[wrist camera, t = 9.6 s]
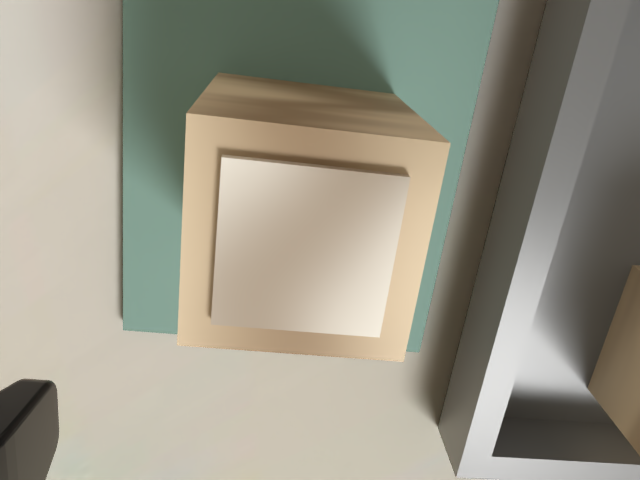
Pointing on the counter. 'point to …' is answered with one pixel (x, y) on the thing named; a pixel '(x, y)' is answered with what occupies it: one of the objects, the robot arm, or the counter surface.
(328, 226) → the labelled block
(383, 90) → the green mat
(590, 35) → the charcoal bin
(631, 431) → the plain block
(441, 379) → the counter surface
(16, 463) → the robot arm
